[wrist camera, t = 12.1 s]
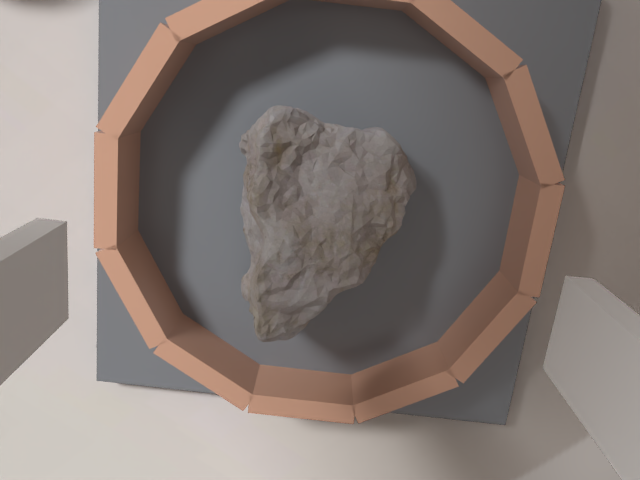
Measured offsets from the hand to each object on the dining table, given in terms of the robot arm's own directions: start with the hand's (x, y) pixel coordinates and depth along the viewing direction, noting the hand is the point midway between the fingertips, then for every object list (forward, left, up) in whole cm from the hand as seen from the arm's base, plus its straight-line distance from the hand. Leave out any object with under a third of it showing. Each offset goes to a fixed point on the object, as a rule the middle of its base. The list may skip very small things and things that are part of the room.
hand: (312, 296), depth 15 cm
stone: (+1, -1, -13) cm, 13 cm away
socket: (0, 0, -14) cm, 14 cm away
